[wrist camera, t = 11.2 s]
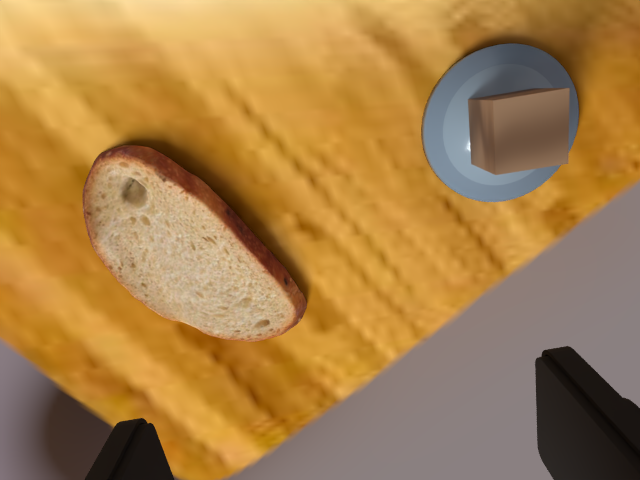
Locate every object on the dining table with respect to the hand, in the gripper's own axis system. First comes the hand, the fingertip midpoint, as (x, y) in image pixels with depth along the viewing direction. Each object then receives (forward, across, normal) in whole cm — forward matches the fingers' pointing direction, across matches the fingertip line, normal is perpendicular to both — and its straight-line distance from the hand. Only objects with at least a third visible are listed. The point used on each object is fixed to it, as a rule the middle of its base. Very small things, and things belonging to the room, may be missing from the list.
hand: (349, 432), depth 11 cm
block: (+27, -15, -2) cm, 31 cm away
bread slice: (+29, +11, +3) cm, 31 cm away
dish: (+28, -15, -2) cm, 32 cm away
